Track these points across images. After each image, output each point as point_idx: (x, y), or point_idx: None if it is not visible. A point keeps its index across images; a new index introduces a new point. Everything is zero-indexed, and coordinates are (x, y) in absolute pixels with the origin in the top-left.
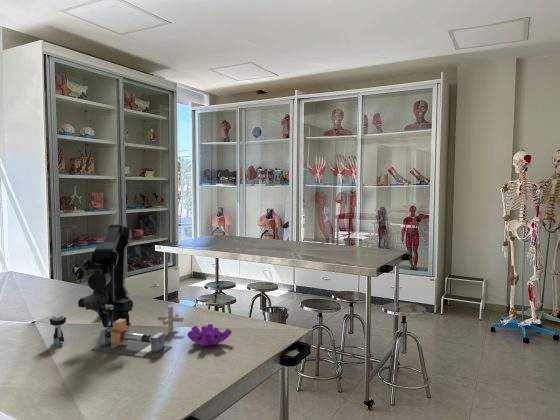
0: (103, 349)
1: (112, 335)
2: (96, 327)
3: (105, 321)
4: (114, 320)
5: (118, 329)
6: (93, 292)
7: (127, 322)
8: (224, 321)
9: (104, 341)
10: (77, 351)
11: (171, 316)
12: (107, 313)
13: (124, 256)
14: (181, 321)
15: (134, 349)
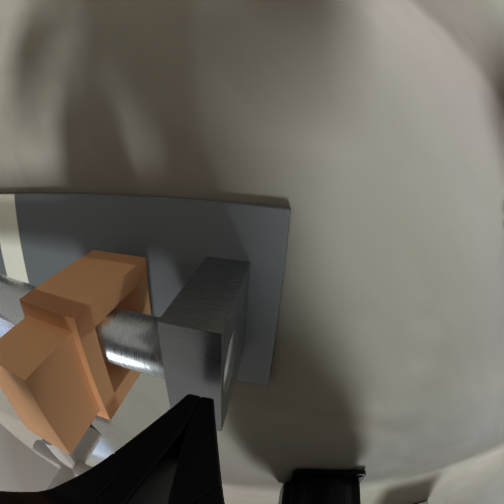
0: (192, 217)
1: (92, 289)
2: (413, 459)
3: (152, 441)
4: (332, 500)
5: (25, 319)
6: None
7: (281, 496)
8: None
9: (197, 276)
10: (384, 166)
11: (60, 468)
12: (27, 494)
13: None
14: (38, 440)
15: (46, 254)
